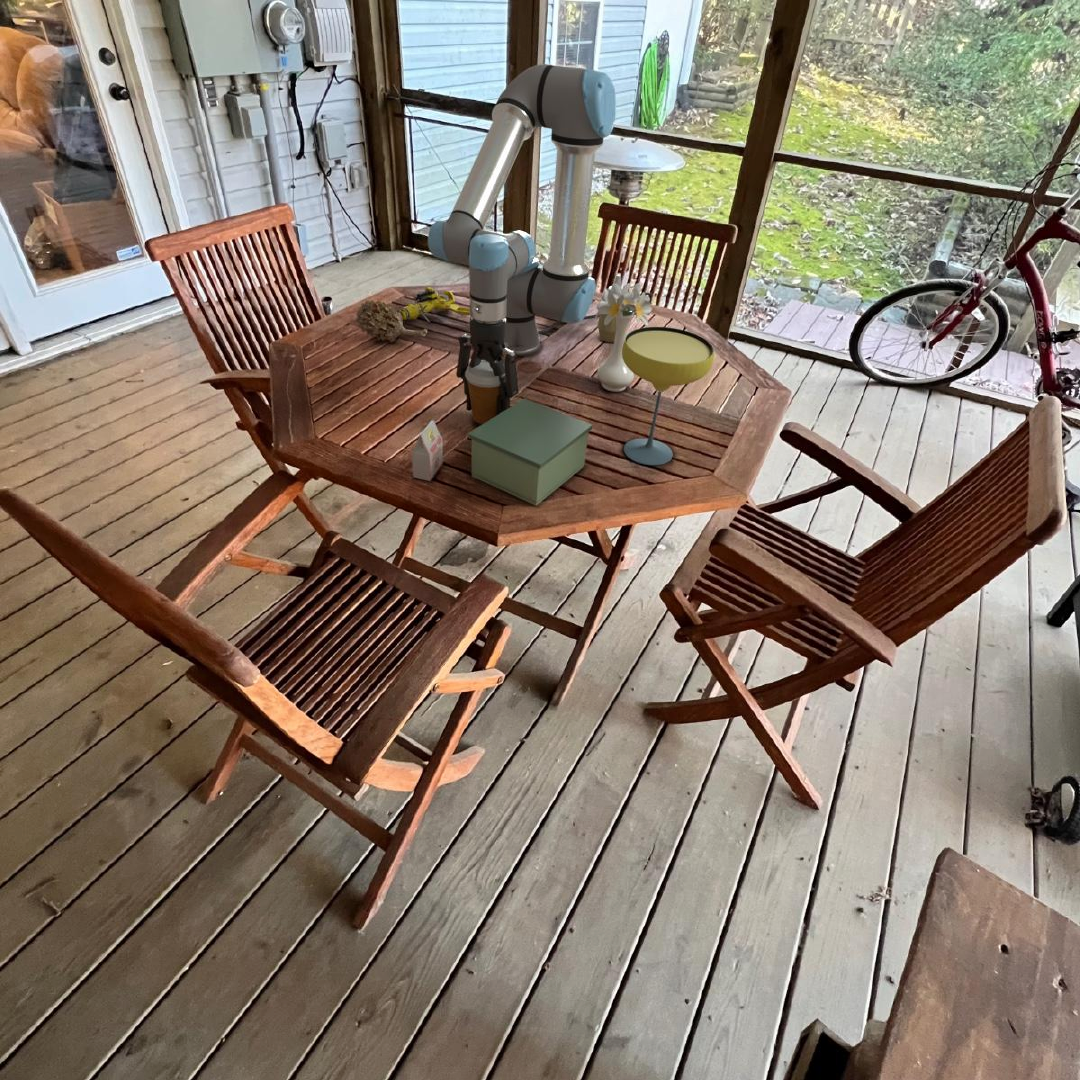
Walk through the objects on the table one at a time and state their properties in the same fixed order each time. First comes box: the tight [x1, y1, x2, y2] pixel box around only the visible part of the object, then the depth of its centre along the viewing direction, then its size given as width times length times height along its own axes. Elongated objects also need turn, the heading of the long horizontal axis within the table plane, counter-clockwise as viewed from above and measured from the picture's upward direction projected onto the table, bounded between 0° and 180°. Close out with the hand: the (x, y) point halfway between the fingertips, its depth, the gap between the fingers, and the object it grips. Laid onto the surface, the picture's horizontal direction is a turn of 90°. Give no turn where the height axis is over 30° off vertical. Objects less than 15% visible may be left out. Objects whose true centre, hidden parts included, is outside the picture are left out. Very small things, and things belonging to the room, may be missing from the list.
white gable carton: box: [411, 419, 444, 482], centre depth 137 cm, size 4×7×10 cm, turn 165°
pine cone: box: [355, 299, 428, 343], centre depth 183 cm, size 22×10×10 cm, turn 70°
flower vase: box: [593, 282, 653, 393], centre depth 167 cm, size 13×18×25 cm
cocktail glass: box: [622, 326, 715, 467], centre depth 143 cm, size 18×18×25 cm
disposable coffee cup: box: [465, 360, 506, 425], centre depth 152 cm, size 10×10×12 cm
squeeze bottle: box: [597, 274, 624, 343], centre depth 192 cm, size 8×8×18 cm
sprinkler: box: [399, 286, 470, 323], centre depth 200 cm, size 19×8×20 cm
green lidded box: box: [467, 398, 594, 507], centre depth 139 cm, size 19×17×10 cm
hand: (486, 414), depth 155 cm, fingers closed on disposable coffee cup, 8 cm apart
